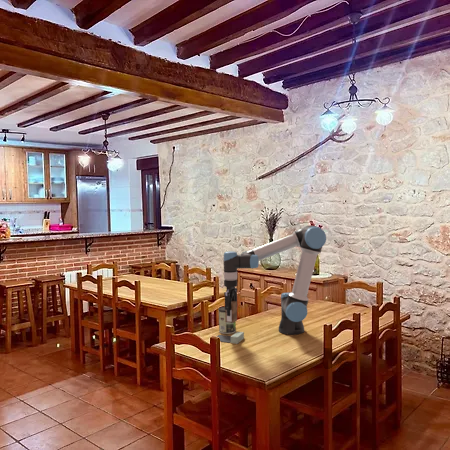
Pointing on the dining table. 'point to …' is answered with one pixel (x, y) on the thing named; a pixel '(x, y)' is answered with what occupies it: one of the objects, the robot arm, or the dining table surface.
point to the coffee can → (225, 323)
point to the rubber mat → (224, 338)
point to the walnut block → (234, 312)
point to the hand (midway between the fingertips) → (231, 319)
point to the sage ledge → (237, 337)
